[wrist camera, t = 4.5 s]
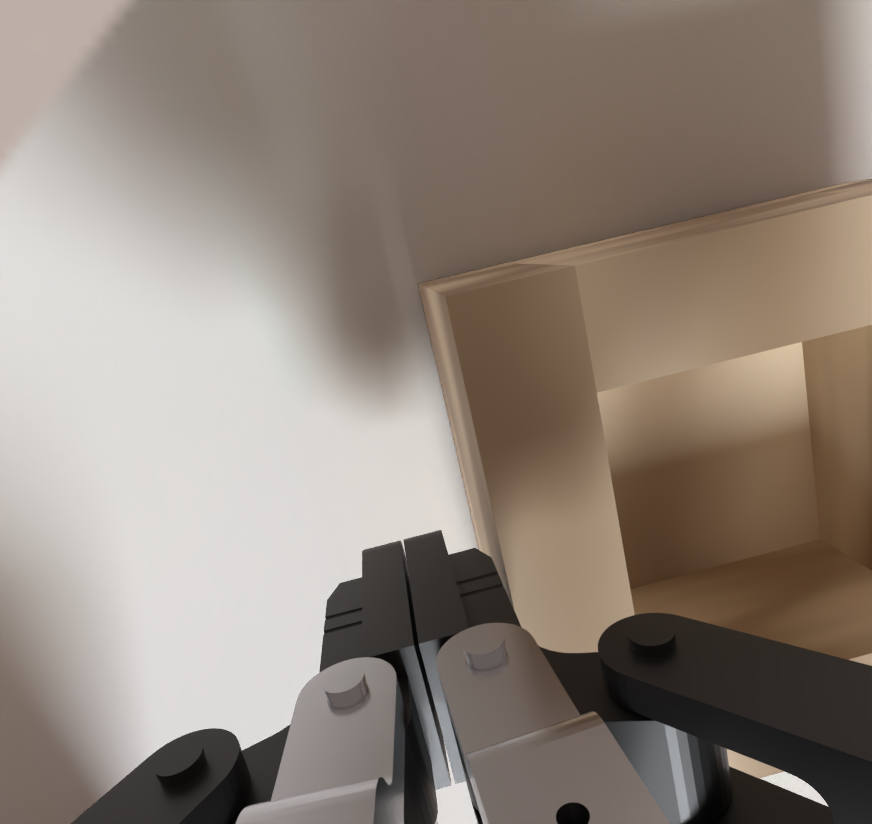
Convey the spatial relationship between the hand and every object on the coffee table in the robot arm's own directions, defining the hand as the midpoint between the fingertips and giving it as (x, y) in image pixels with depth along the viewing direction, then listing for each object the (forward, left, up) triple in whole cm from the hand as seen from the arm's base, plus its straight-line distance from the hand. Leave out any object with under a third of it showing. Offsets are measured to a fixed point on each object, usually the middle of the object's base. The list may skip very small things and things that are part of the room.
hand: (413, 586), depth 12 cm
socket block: (-7, 0, -4) cm, 8 cm away
